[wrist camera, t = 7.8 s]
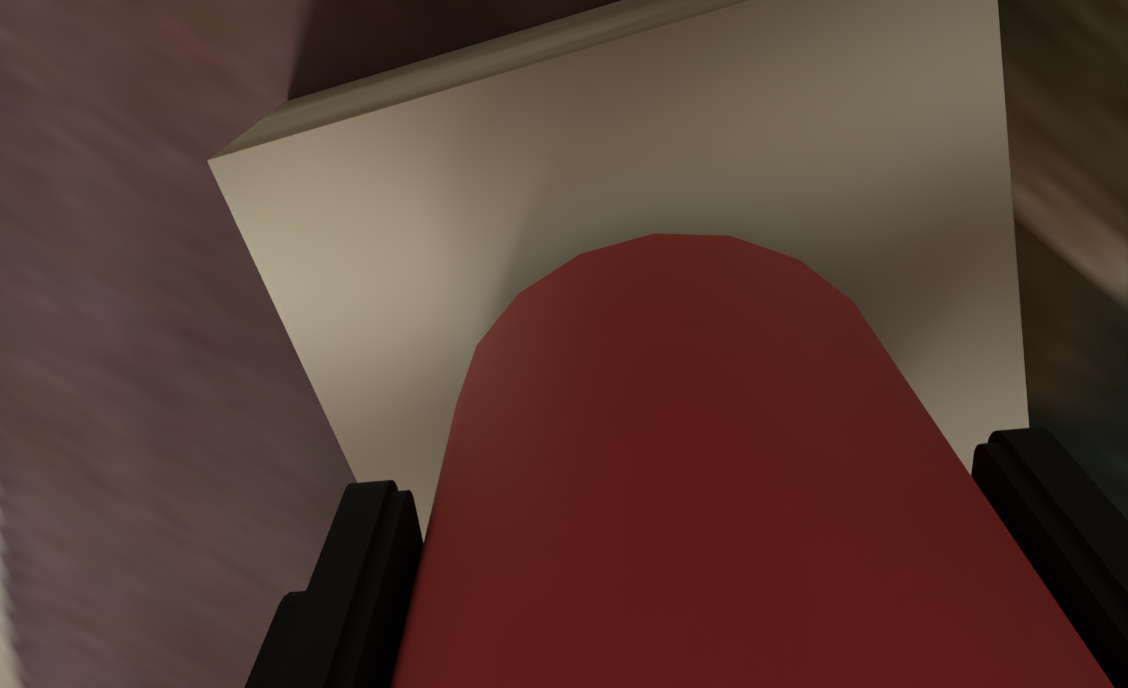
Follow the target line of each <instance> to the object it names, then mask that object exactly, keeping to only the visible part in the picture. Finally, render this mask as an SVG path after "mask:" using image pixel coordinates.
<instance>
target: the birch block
mask: <svg viewBox="0 0 1128 688" xmlns="http://www.w3.org/2000/svg"><path fill="white" fill-rule="evenodd" d="M207 161H208V163H209V166H210V168H211V170H212V172H213V174H214V176H215V178H216V181H217V183H218V185H219V187H220V189H221V191H222V193H223V196H224V198H225V200H226V202H227V204H228V206H229V208H230V211H231V213H232V215H233V217H234V219H235V221H236V223H237V226H238V228H239V230H240V232H241V234H242V236H243V238H244V241H245V243H246V245H247V247H248V249H249V251H250V253H251V256H252V258H253V260H254V262H255V264H256V266H257V268H258V271H259V273H260V275H261V277H262V279H263V281H264V283H265V286H266V288H267V290H268V292H269V294H270V296H271V298H272V301H273V303H274V305H275V307H276V309H277V311H278V313H279V316H280V318H281V320H282V322H283V324H284V326H285V328H286V331H287V333H288V335H289V337H290V339H291V341H292V343H293V346H294V348H295V350H296V352H297V354H298V356H299V358H300V361H301V363H302V365H303V367H304V369H305V371H306V373H307V376H308V378H309V380H310V382H311V384H312V386H313V388H314V391H315V393H316V395H317V397H318V399H319V401H320V403H321V406H322V408H323V410H324V412H325V414H326V416H327V418H328V421H329V423H330V425H331V427H332V429H333V431H334V433H335V436H336V438H337V440H338V442H339V444H340V446H341V448H342V451H343V453H344V455H345V457H346V459H347V461H348V463H349V466H350V468H351V470H352V472H353V474H354V476H355V478H356V481H357V483H359V482H372V481H384V480H393V481H395V483H396V485H397V487H398V490H399V491H402V490H410V491H411V492H412V494H413V497H414V501H415V506H416V510H417V515H418V520H419V524H420V529H421V534H422V538H423V543H424V539H425V535H426V531H427V527H428V522H429V518H430V514H431V510H432V505H433V501H434V497H435V492H436V488H437V484H438V480H439V475H440V471H441V467H442V462H443V458H444V454H445V450H446V445H447V441H448V437H449V432H450V428H451V424H452V420H453V415H454V411H455V407H456V403H457V400H458V397H459V395H460V392H461V389H462V386H463V383H464V380H465V377H466V374H467V371H468V368H469V366H470V363H471V360H472V357H473V354H474V351H475V348H476V346H477V344H478V343H479V342H480V341H481V339H482V338H483V337H484V336H485V334H486V333H487V332H488V331H489V330H490V328H491V327H492V326H493V325H494V323H495V322H496V321H497V320H498V318H499V317H500V316H501V315H502V313H503V312H504V311H505V310H506V308H507V307H508V306H509V305H510V304H511V302H512V301H513V300H514V299H515V297H516V296H517V295H518V294H519V293H520V292H522V291H523V290H525V289H526V288H528V287H529V286H531V285H532V284H534V283H536V282H537V281H539V280H540V279H542V278H543V277H545V276H546V275H548V274H550V273H551V272H553V271H554V270H556V269H557V268H559V267H560V266H562V265H564V264H565V263H567V262H568V261H570V260H571V259H573V258H575V257H576V256H578V255H579V254H582V253H585V252H589V251H592V250H596V249H600V248H603V247H607V246H611V245H614V244H618V243H621V242H625V241H629V240H632V239H636V238H640V237H643V236H647V235H650V234H687V235H724V236H733V237H735V238H738V239H741V240H744V241H747V242H750V243H753V244H756V245H758V246H761V247H764V248H767V249H770V250H773V251H776V252H779V253H782V254H784V255H787V256H790V257H793V258H796V259H799V260H801V261H802V262H803V263H804V264H806V265H807V266H808V267H809V268H811V269H812V270H813V271H815V272H816V273H817V274H818V275H820V276H821V277H822V278H823V279H825V280H826V281H827V282H828V283H830V284H831V285H832V286H834V287H835V288H836V289H837V290H839V291H840V292H841V293H842V294H844V295H845V296H846V297H848V298H849V299H850V300H851V301H853V302H854V304H855V305H856V307H857V308H858V310H859V311H860V312H861V314H862V315H863V317H864V318H865V320H866V321H867V323H868V324H869V326H870V327H871V329H872V330H873V332H874V333H875V335H876V336H877V338H878V339H879V341H880V342H881V344H882V345H883V346H884V348H885V349H886V351H887V352H888V354H889V355H890V357H891V358H892V360H893V361H894V363H895V364H896V366H897V367H898V369H899V370H900V372H901V373H902V375H903V376H904V377H905V379H906V380H907V382H908V383H909V385H910V386H911V388H912V389H913V391H914V392H915V394H916V395H917V397H918V398H919V400H920V401H921V403H922V404H923V406H924V407H925V409H926V410H927V411H928V413H929V414H930V416H931V417H932V419H933V420H934V422H935V423H936V425H937V426H938V428H939V429H940V431H941V432H942V434H943V435H944V437H945V438H946V440H947V441H948V443H949V444H950V445H951V447H952V448H953V450H954V451H955V453H956V454H957V456H958V457H959V459H960V460H961V462H962V463H963V465H964V466H965V468H966V469H967V471H968V472H969V474H970V475H971V473H972V464H973V455H974V450H975V448H976V446H977V445H978V444H982V443H988V438H989V437H990V435H991V433H992V432H994V431H996V430H1008V429H1021V428H1029V419H1028V406H1027V392H1026V378H1025V365H1024V351H1023V338H1022V324H1021V311H1020V297H1019V283H1018V270H1017V256H1016V243H1015V229H1014V216H1013V202H1012V188H1011V175H1010V161H1009V148H1008V134H1007V121H1006V107H1005V93H1004V80H1003V66H1002V53H1001V39H1000V26H999V12H998V0H621V1H618V2H615V3H611V4H608V5H605V6H601V7H598V8H595V9H591V10H588V11H585V12H581V13H578V14H575V15H571V16H568V17H565V18H561V19H558V20H555V21H551V22H548V23H545V24H541V25H538V26H535V27H532V28H528V29H525V30H522V31H518V32H515V33H512V34H508V35H505V36H502V37H498V38H495V39H492V40H488V41H485V42H482V43H478V44H475V45H472V46H468V47H465V48H462V49H458V50H455V51H452V52H448V53H445V54H442V55H438V56H435V57H432V58H428V59H425V60H422V61H418V62H415V63H412V64H409V65H405V66H402V67H399V68H395V69H392V70H389V71H385V72H382V73H379V74H375V75H372V76H369V77H365V78H362V79H359V80H355V81H352V82H349V83H345V84H342V85H339V86H335V87H332V88H329V89H325V90H322V91H319V92H315V93H312V94H309V95H305V96H302V97H299V98H295V99H292V100H289V101H286V102H284V103H283V104H282V105H280V106H279V107H278V108H276V109H275V110H274V111H272V112H271V113H270V114H268V115H267V116H266V117H264V118H263V119H262V120H260V121H259V122H258V123H256V124H255V125H254V126H252V127H251V128H250V129H248V130H247V131H246V132H244V133H243V134H242V135H240V136H239V137H238V138H236V139H235V140H234V141H232V142H231V143H230V144H228V145H227V146H226V147H224V148H223V149H222V150H220V151H219V152H218V153H216V154H215V155H214V156H212V157H211V158H210V159H208V160H207Z"/></svg>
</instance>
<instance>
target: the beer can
mask: <svg viewBox="0 0 1128 688" xmlns="http://www.w3.org/2000/svg"><path fill="white" fill-rule="evenodd" d="M390 688H1114V686H1113V685H1112V683H1111V682H1110V680H1109V679H1108V677H1107V676H1106V674H1105V673H1104V672H1103V670H1102V669H1101V667H1100V666H1099V664H1098V663H1097V661H1096V660H1095V658H1094V657H1093V655H1092V654H1091V652H1090V651H1089V649H1088V648H1087V646H1086V645H1085V643H1084V642H1083V641H1082V639H1081V638H1080V636H1079V635H1078V633H1077V632H1076V630H1075V629H1074V627H1073V626H1072V624H1071V623H1070V621H1069V620H1068V618H1067V617H1066V615H1065V614H1064V612H1063V611H1062V609H1061V608H1060V607H1059V605H1058V604H1057V602H1056V601H1055V599H1054V598H1053V596H1052V595H1051V593H1050V592H1049V590H1048V589H1047V587H1046V586H1045V584H1044V583H1043V581H1042V580H1041V578H1040V577H1039V575H1038V574H1037V573H1036V571H1035V570H1034V568H1033V567H1032V565H1031V564H1030V562H1029V561H1028V559H1027V558H1026V556H1025V555H1024V553H1023V552H1022V550H1021V549H1020V547H1019V546H1018V544H1017V543H1016V542H1015V540H1014V539H1013V537H1012V536H1011V534H1010V533H1009V531H1008V530H1007V528H1006V527H1005V525H1004V524H1003V522H1002V521H1001V519H1000V518H999V516H998V515H997V513H996V512H995V510H994V509H993V508H992V506H991V505H990V503H989V502H988V500H987V499H986V497H985V496H984V494H983V493H982V491H981V490H980V488H979V487H978V485H977V484H976V482H975V481H974V479H973V478H972V476H971V475H970V474H969V472H968V471H967V469H966V468H965V466H964V465H963V463H962V462H961V460H960V459H959V457H958V456H957V454H956V453H955V451H954V450H953V448H952V447H951V445H950V444H949V443H948V441H947V440H946V438H945V437H944V435H943V434H942V432H941V431H940V429H939V428H938V426H937V425H936V423H935V422H934V420H933V419H932V417H931V416H930V414H929V413H928V411H927V410H926V409H925V407H924V406H923V404H922V403H921V401H920V400H919V398H918V397H917V395H916V394H915V392H914V391H913V389H912V388H911V386H910V385H909V383H908V382H907V380H906V379H905V377H904V376H903V375H902V373H901V372H900V370H899V369H898V367H897V366H896V364H895V363H894V361H893V360H892V358H891V357H890V355H889V354H888V352H887V351H886V349H885V348H884V346H883V345H882V344H881V342H880V341H879V339H878V338H877V336H876V335H875V333H874V332H873V330H872V329H871V327H870V326H869V324H868V323H867V321H866V320H865V318H864V317H863V315H862V314H861V312H860V311H859V310H858V308H857V307H856V305H855V304H854V302H853V301H851V300H850V299H849V298H848V297H846V296H845V295H844V294H842V293H841V292H840V291H839V290H837V289H836V288H835V287H834V286H832V285H831V284H830V283H828V282H827V281H826V280H825V279H823V278H822V277H821V276H820V275H818V274H817V273H816V272H815V271H813V270H812V269H811V268H809V267H808V266H807V265H806V264H804V263H803V262H802V261H801V260H799V259H796V258H793V257H790V256H787V255H784V254H782V253H779V252H776V251H773V250H770V249H767V248H764V247H761V246H758V245H756V244H753V243H750V242H747V241H744V240H741V239H738V238H735V237H733V236H724V235H687V234H650V235H647V236H643V237H640V238H636V239H632V240H629V241H625V242H621V243H618V244H614V245H611V246H607V247H603V248H600V249H596V250H592V251H589V252H585V253H582V254H579V255H578V256H576V257H575V258H573V259H571V260H570V261H568V262H567V263H565V264H564V265H562V266H560V267H559V268H557V269H556V270H554V271H553V272H551V273H550V274H548V275H546V276H545V277H543V278H542V279H540V280H539V281H537V282H536V283H534V284H532V285H531V286H529V287H528V288H526V289H525V290H523V291H522V292H520V293H519V294H518V295H517V296H516V297H515V299H514V300H513V301H512V302H511V304H510V305H509V306H508V307H507V308H506V310H505V311H504V312H503V313H502V315H501V316H500V317H499V318H498V320H497V321H496V322H495V323H494V325H493V326H492V327H491V328H490V330H489V331H488V332H487V333H486V334H485V336H484V337H483V338H482V339H481V341H480V342H479V343H478V344H477V346H476V348H475V351H474V354H473V357H472V360H471V363H470V366H469V368H468V371H467V374H466V377H465V380H464V383H463V386H462V389H461V392H460V395H459V397H458V400H457V403H456V407H455V411H454V415H453V420H452V424H451V428H450V432H449V437H448V441H447V445H446V450H445V454H444V458H443V462H442V467H441V471H440V475H439V480H438V484H437V488H436V492H435V497H434V501H433V505H432V510H431V514H430V518H429V522H428V527H427V531H426V535H425V539H424V544H423V548H422V552H421V557H420V561H419V565H418V569H417V574H416V578H415V582H414V587H413V591H412V595H411V599H410V604H409V608H408V612H407V617H406V621H405V625H404V629H403V634H402V638H401V642H400V647H399V651H398V655H397V659H396V664H395V668H394V672H393V677H392V681H391V685H390Z"/></svg>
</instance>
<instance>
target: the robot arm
mask: <svg viewBox="0 0 1128 688" xmlns="http://www.w3.org/2000/svg"><path fill="white" fill-rule="evenodd" d="M971 476H972V478H973V479H974V481H975V482H976V484H977V485H978V487H979V488H980V490H981V491H982V493H983V494H984V496H985V497H986V499H987V500H988V502H989V503H990V505H991V506H992V508H993V509H994V510H995V512H996V513H997V515H998V516H999V518H1000V519H1001V521H1002V522H1003V524H1004V525H1005V527H1006V528H1007V530H1008V531H1009V533H1010V534H1011V536H1012V537H1013V539H1014V540H1015V542H1016V543H1017V544H1018V546H1019V547H1020V549H1021V550H1022V552H1023V553H1024V555H1025V556H1026V558H1027V559H1028V561H1029V562H1030V564H1031V565H1032V567H1033V568H1034V570H1035V571H1036V573H1037V574H1038V575H1039V577H1040V578H1041V580H1042V581H1043V583H1044V584H1045V586H1046V587H1047V589H1048V590H1049V592H1050V593H1051V595H1052V596H1053V598H1054V599H1055V601H1056V602H1057V604H1058V605H1059V607H1060V608H1061V609H1062V611H1063V612H1064V614H1065V615H1066V617H1067V618H1068V620H1069V621H1070V623H1071V624H1072V626H1073V627H1074V629H1075V630H1076V632H1077V633H1078V635H1079V636H1080V638H1081V639H1082V641H1083V642H1084V643H1085V645H1086V646H1087V648H1088V649H1089V651H1090V652H1091V654H1092V655H1093V657H1094V658H1095V660H1096V661H1097V663H1098V664H1099V666H1100V667H1101V669H1102V670H1103V672H1104V673H1105V674H1106V676H1107V677H1108V679H1109V680H1110V682H1111V683H1112V685H1113V686H1114V688H1128V521H1127V520H1126V519H1125V517H1124V516H1123V515H1122V514H1121V513H1120V512H1119V511H1118V509H1117V508H1116V507H1115V506H1114V505H1113V504H1112V503H1111V501H1110V500H1109V499H1108V498H1107V497H1106V496H1105V495H1104V493H1103V492H1102V491H1101V490H1100V489H1099V488H1098V486H1097V485H1096V484H1095V483H1094V482H1093V481H1092V480H1091V478H1090V477H1089V476H1088V475H1087V474H1086V473H1085V472H1084V470H1083V469H1082V468H1081V467H1080V466H1079V465H1078V464H1077V462H1076V461H1075V460H1074V459H1073V458H1072V457H1071V456H1070V454H1069V453H1068V452H1067V451H1066V450H1065V449H1064V447H1063V446H1062V445H1061V444H1060V443H1059V442H1058V441H1057V439H1056V438H1055V437H1054V436H1053V435H1052V434H1051V433H1050V432H1049V431H1048V430H1047V429H1046V428H1043V427H1033V428H1021V429H1008V430H996V431H994V432H992V433H991V435H990V437H989V438H988V443H982V444H978V445H977V446H976V448H975V450H974V455H973V464H972V473H971ZM423 544H424V543H423V538H422V534H421V529H420V524H419V520H418V515H417V510H416V506H415V501H414V497H413V494H412V492H411V491H410V490H402V491H399V490H398V487H397V485H396V483H395V481H393V480H384V481H372V482H359V483H350V484H348V486H347V487H346V489H345V491H344V494H343V497H342V499H341V502H340V504H339V507H338V510H337V512H336V515H335V517H334V520H333V523H332V525H331V528H330V530H329V533H328V536H327V538H326V541H325V543H324V546H323V549H322V551H321V554H320V556H319V559H318V562H317V564H316V567H315V569H314V572H313V575H312V577H311V580H310V582H309V585H308V587H307V590H306V591H299V592H289V593H288V594H287V595H285V596H284V597H283V599H282V601H281V602H280V604H279V606H278V608H277V611H276V613H275V616H274V618H273V620H272V623H271V625H270V628H269V630H268V632H267V635H266V637H265V640H264V642H263V644H262V647H261V649H260V652H259V654H258V656H257V659H256V661H255V664H254V666H253V668H252V671H251V673H250V676H249V678H248V681H247V683H246V685H245V688H390V685H391V681H392V677H393V672H394V668H395V664H396V659H397V655H398V651H399V647H400V642H401V638H402V634H403V629H404V625H405V621H406V617H407V612H408V608H409V604H410V599H411V595H412V591H413V587H414V582H415V578H416V574H417V569H418V565H419V561H420V557H421V552H422V548H423Z"/></svg>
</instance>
